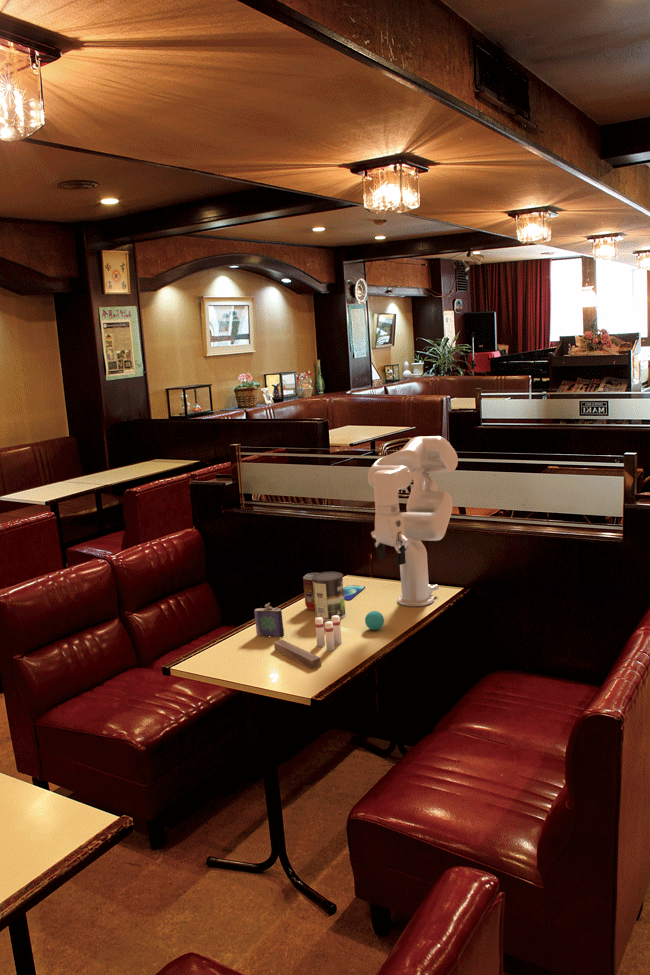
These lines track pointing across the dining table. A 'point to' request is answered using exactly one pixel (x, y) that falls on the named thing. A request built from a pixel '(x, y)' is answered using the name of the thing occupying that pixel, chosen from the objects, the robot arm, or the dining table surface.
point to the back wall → (297, 654)
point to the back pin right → (319, 631)
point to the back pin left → (329, 636)
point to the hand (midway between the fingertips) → (391, 561)
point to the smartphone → (352, 591)
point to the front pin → (336, 629)
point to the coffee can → (329, 595)
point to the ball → (374, 620)
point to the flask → (269, 622)
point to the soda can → (309, 591)
